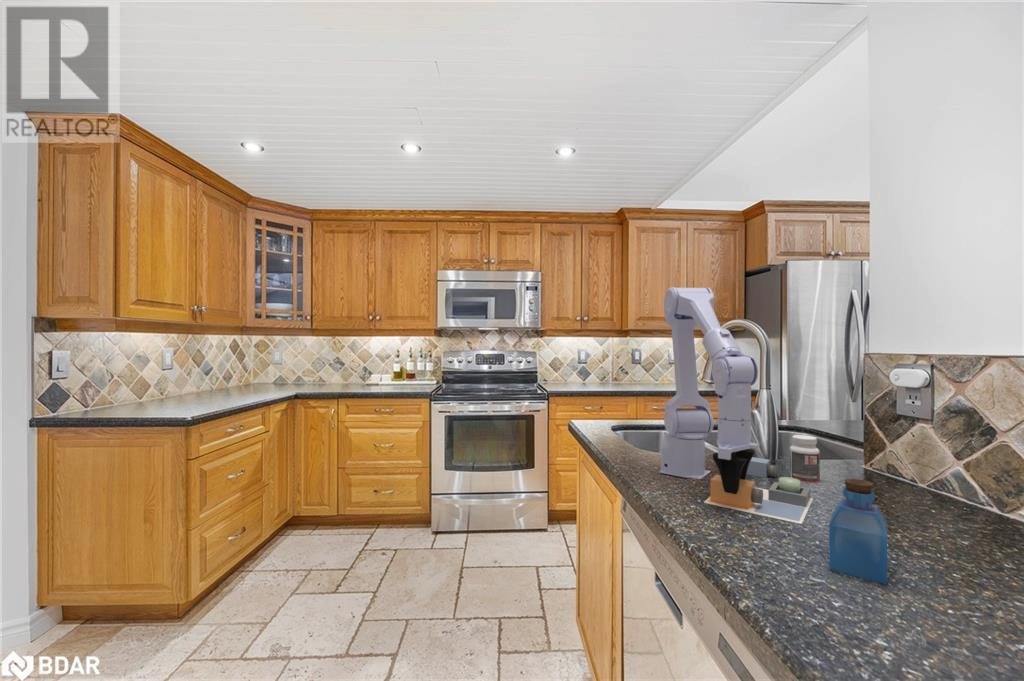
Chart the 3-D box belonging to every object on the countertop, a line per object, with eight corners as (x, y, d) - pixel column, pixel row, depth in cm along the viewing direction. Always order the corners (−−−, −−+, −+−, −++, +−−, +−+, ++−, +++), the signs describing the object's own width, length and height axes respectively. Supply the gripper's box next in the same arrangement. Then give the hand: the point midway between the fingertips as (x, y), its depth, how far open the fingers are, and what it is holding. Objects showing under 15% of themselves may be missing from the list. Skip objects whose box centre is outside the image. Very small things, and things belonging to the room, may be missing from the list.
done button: (777, 490, 89) (777, 480, 89) (780, 485, 91) (780, 475, 91) (799, 494, 86) (799, 483, 86) (801, 489, 89) (801, 479, 89)
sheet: (703, 505, 87) (703, 502, 87) (725, 484, 99) (725, 482, 99) (801, 527, 77) (801, 523, 77) (813, 501, 89) (813, 498, 89)
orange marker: (710, 500, 88) (710, 479, 88) (716, 494, 91) (716, 474, 91) (759, 510, 83) (759, 488, 83) (763, 504, 86) (764, 483, 86)
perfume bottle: (833, 553, 68) (833, 472, 68) (887, 566, 64) (887, 481, 64) (829, 569, 63) (829, 483, 63) (887, 584, 59) (887, 492, 59)
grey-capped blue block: (732, 475, 107) (732, 458, 107) (737, 471, 110) (737, 454, 110) (773, 482, 102) (773, 464, 102) (777, 478, 105) (777, 460, 105)
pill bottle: (825, 485, 99) (826, 439, 99) (799, 485, 99) (799, 439, 99) (809, 477, 105) (809, 434, 105) (784, 477, 105) (784, 434, 105)
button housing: (768, 500, 88) (768, 489, 88) (774, 491, 93) (774, 481, 93) (806, 507, 84) (806, 496, 84) (810, 498, 89) (810, 488, 89)
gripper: (748, 426, 79) (748, 504, 79) (765, 415, 90) (765, 484, 90) (706, 422, 84) (706, 495, 84) (727, 412, 95) (727, 477, 95)
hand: (734, 489), depth 87 cm, fingers open, 4 cm apart
